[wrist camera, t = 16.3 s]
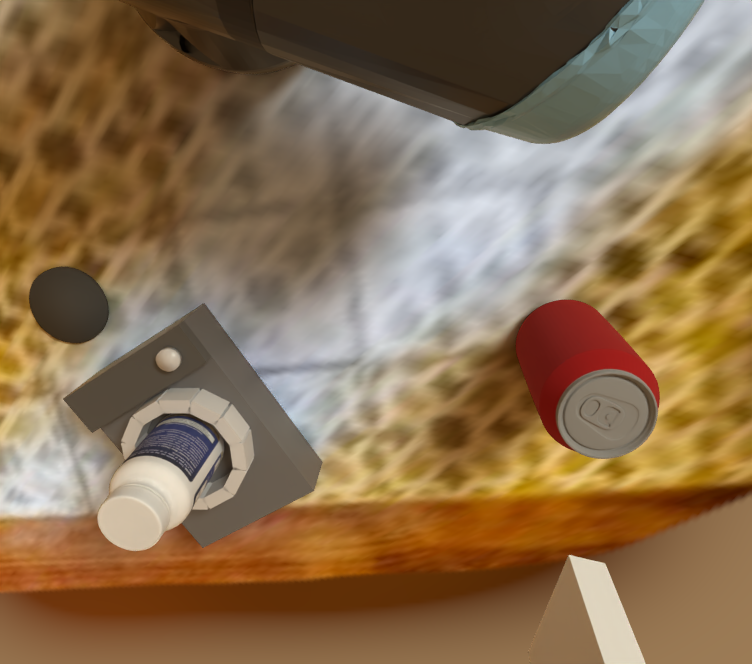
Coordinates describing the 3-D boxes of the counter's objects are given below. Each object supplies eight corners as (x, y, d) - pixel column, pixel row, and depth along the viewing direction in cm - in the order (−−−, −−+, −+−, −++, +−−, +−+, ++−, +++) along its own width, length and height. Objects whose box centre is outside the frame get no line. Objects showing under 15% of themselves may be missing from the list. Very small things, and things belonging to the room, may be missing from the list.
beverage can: (574, 395, 45) (624, 488, 34) (496, 357, 44) (520, 438, 33) (626, 321, 43) (698, 394, 31) (544, 279, 42) (588, 338, 31)
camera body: (98, 371, 47) (54, 405, 42) (204, 303, 45) (172, 329, 39) (218, 516, 51) (193, 565, 46) (322, 462, 49) (308, 506, 43)
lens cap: (21, 279, 46) (15, 281, 45) (88, 255, 45) (82, 257, 44) (59, 348, 47) (53, 351, 47) (123, 327, 46) (119, 330, 46)
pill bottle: (147, 411, 44) (73, 488, 35) (216, 405, 43) (159, 482, 34) (166, 474, 45) (99, 563, 36) (233, 469, 45) (182, 559, 36)
